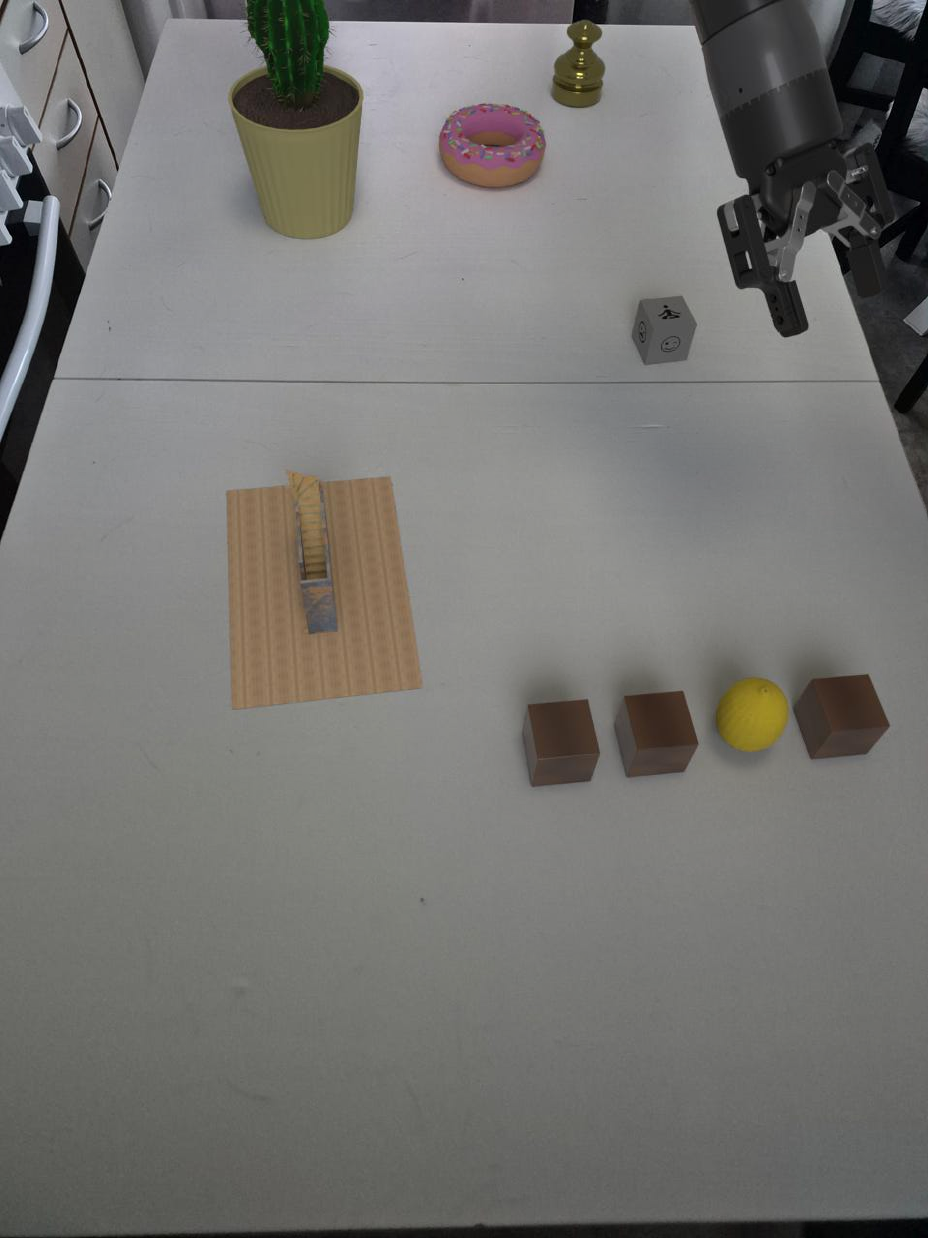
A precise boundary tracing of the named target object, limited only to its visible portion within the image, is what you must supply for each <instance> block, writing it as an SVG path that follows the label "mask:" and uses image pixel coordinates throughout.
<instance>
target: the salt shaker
mask: <svg viewBox="0 0 928 1238" xmlns="http://www.w3.org/2000/svg"><path fill="white" fill-rule="evenodd" d="M566 35H567V37H568V38H569V39H570V40H571V42H572V47H570V48H569V49H568V50H566V51H565V52H564V53H562V54H560V55H559V56H558V57H557V58H556V59H555V60H554V64H553V73H554V75H553V76H552V83H551V84H552V85H551V95H552V97H553V98H554V99H555V100H556V101H557V102H559V103H560V104H563V105H565V106H568V107H574V108H585V107H589V106H592V105H595V104H596V103H598V102H599V101H600V100H601V97H602V91H603V86H604V80H603V78H604V77H605V73H606V63H605V62H604V60H602V58H601V57H600V56H598V54H597V53H596V52H595V51H594V49H593V46H594V44H595V43H596V42H599V41H600V40H601V38H602V37H603V30H602V28H601V27H600V26H599V25H597V24H596V23H593V22H592V21H591V20H589V19H582V20H580V21H576V22H573V23H571V24H570V25H568V26H567V28H566Z"/></svg>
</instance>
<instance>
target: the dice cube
mask: <svg viewBox="0 0 928 1238" xmlns="http://www.w3.org/2000/svg"><path fill="white" fill-rule="evenodd" d="M694 317H695V316H693V313H692V312H691V309H690V308H689V306H688V304H687V302H686V300H685V298H684V296H683V295H674V296H664V297H663V296H662V297H655V298H653V297H652V298H644V299H639V302H638V305H637V310H636V315H635V319H634V324H633V328H632V332H631V338H632V340H633V343H634V344H635V347H636V349H637V351H638V353H639V355H640V358H641V359H642V362H643V364H644V365H646V366H647V365H655V364H664V363H672V362H680V361H687V360H688V356H689V353H690V350H691V347H692V343H693V339H694V336H695V333H696V329H697V325H698V323H697V321H696V319H695V318H694Z"/></svg>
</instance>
